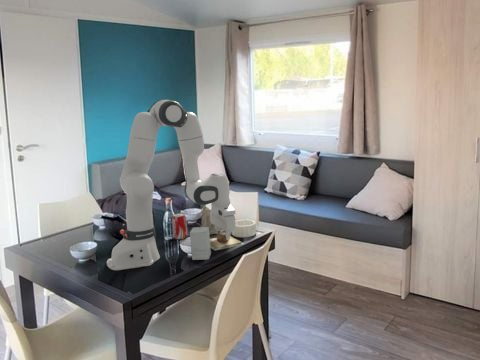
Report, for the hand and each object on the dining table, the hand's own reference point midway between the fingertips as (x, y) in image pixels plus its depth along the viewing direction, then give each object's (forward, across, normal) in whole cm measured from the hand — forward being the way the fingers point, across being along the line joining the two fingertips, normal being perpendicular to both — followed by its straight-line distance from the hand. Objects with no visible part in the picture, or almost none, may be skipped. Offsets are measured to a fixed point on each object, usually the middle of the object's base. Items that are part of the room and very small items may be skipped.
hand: (223, 236), depth 220 cm
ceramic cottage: (+4, -22, +6) cm, 24 cm away
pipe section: (+3, -6, +14) cm, 16 cm away
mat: (+3, 0, 0) cm, 3 cm away
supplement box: (+3, +11, -16) cm, 20 cm away
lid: (+3, 0, 0) cm, 3 cm away
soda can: (+3, -20, -14) cm, 25 cm away
